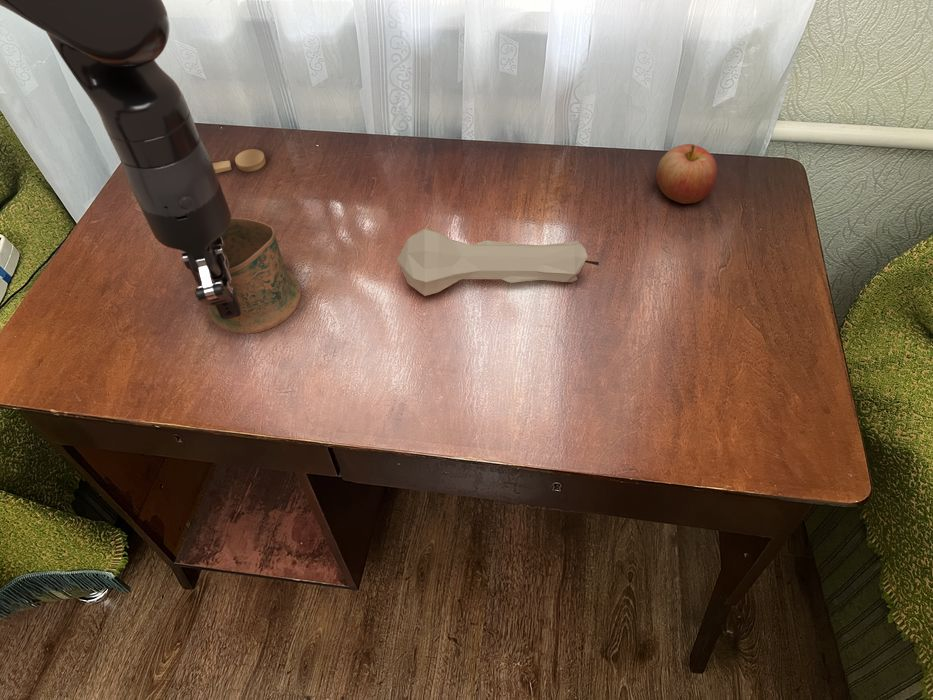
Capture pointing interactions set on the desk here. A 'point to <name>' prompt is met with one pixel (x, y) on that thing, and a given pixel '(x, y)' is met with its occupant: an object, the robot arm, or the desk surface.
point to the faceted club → (485, 261)
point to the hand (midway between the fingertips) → (231, 313)
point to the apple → (687, 173)
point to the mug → (257, 278)
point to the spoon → (243, 161)
